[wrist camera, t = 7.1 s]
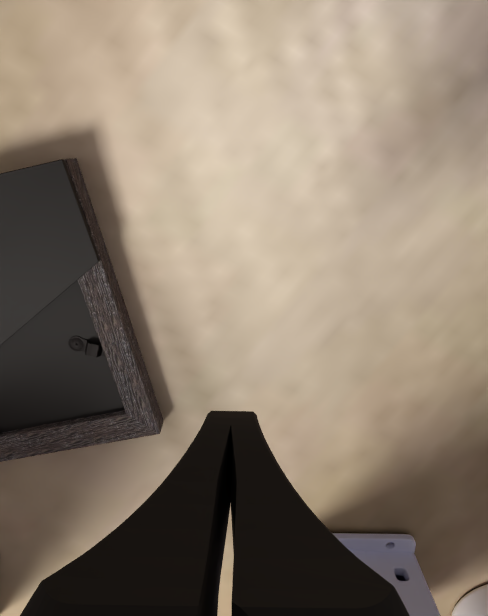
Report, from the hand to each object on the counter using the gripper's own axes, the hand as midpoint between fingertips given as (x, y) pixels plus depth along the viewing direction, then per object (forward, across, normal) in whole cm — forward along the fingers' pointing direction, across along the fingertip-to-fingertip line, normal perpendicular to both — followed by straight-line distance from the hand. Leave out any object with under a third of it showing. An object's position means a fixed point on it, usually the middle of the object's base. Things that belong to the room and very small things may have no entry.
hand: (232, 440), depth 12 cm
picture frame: (+9, +14, +1) cm, 17 cm away
